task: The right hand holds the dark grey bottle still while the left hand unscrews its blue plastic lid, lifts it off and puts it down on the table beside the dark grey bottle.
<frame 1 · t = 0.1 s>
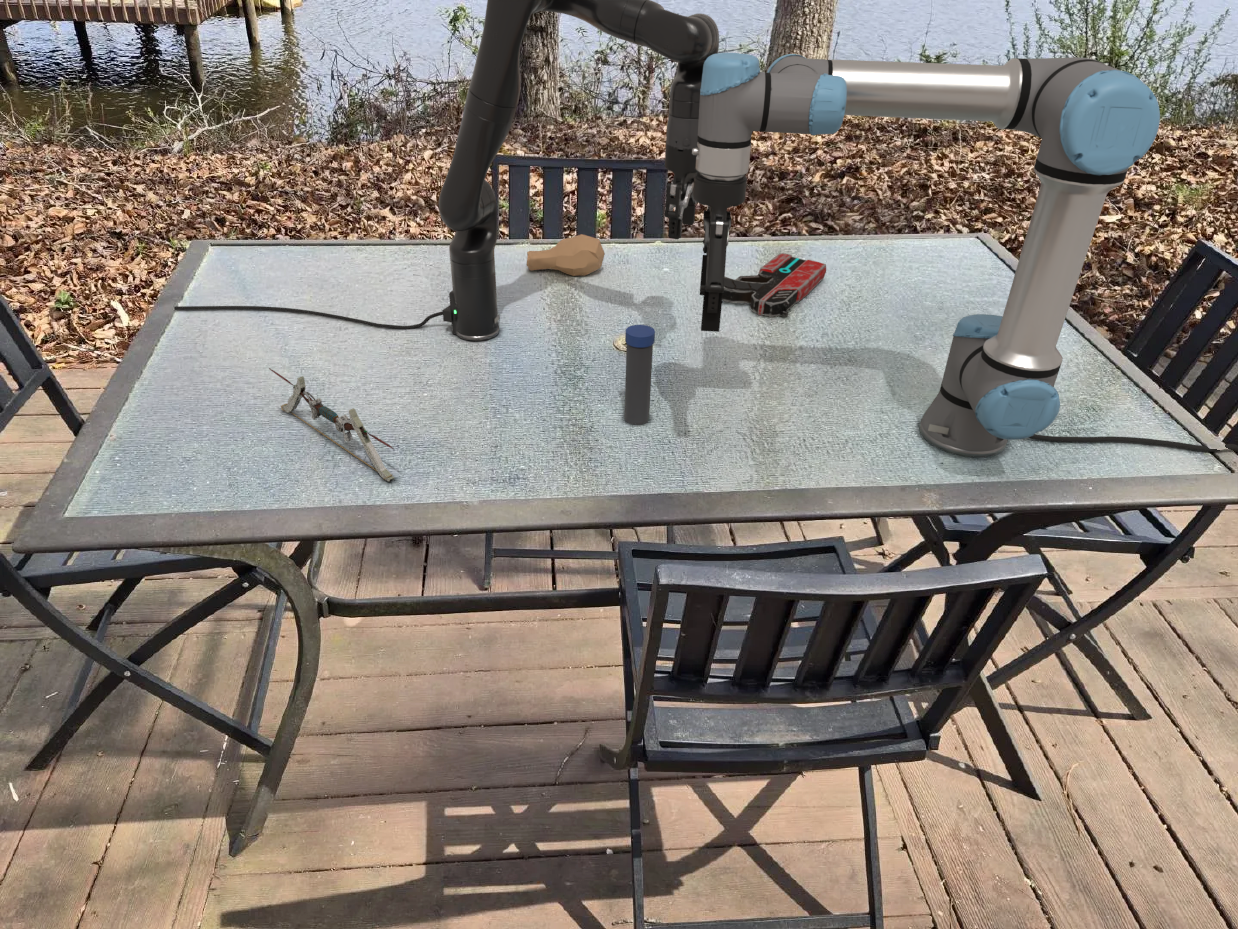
left hand: (681, 231, 164), 29 cm above the table, tool pointing down, fingers open, 8 cm apart
right hand: (708, 311, 137), 28 cm above the table, tool pointing down, fingers open, 13 cm apart
dark grey bottle: (636, 418, 164), on the table
lid: (640, 332, 154), point 18 cm above the table, screwed on, not yet turned
bow: (334, 443, 154), on the table
squash: (565, 271, 224), on the table
gun: (770, 291, 216), on the table
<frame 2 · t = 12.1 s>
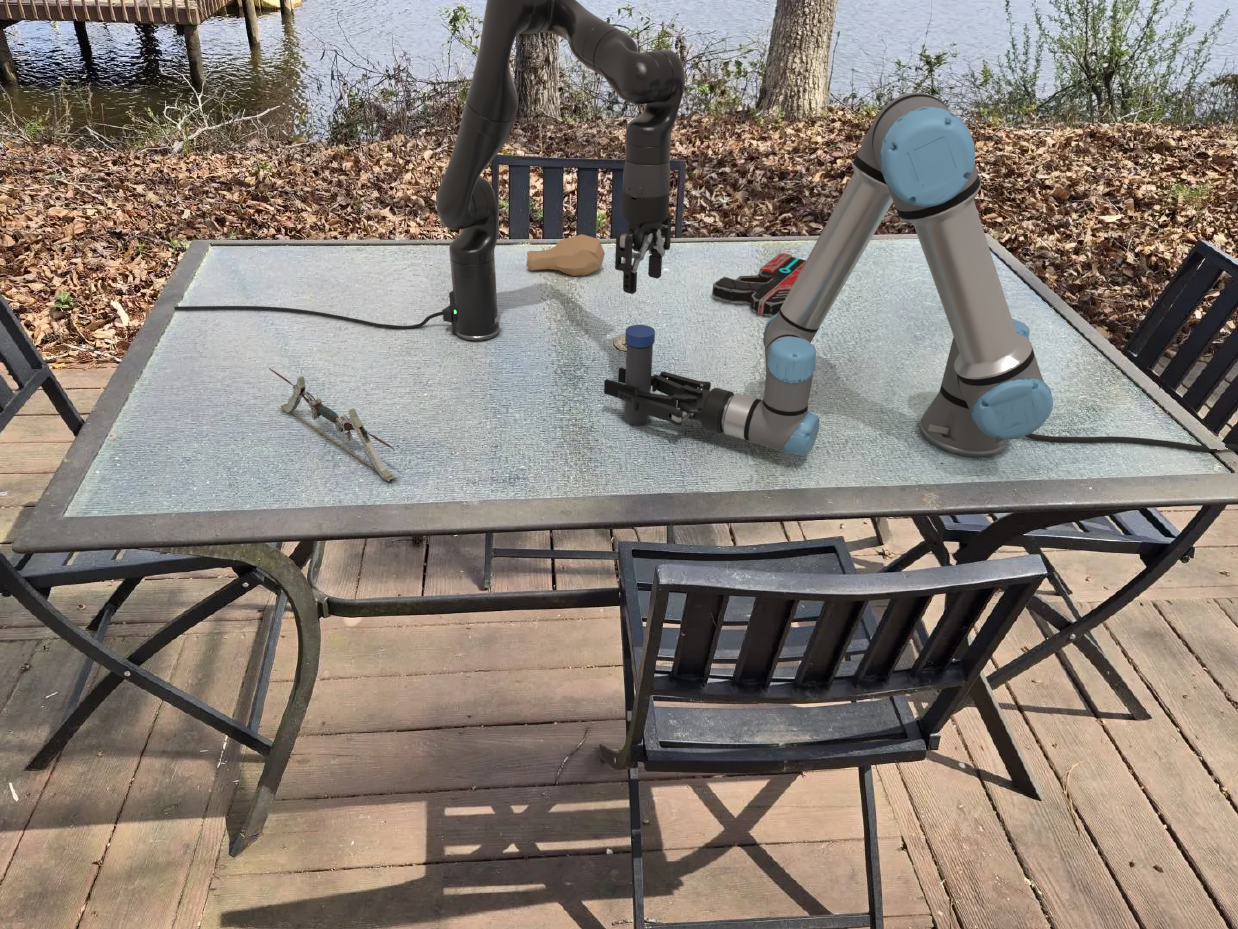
left hand: (642, 284, 149), 26 cm above the table, tool pointing down, fingers open, 7 cm apart
right hand: (612, 380, 162), 7 cm above the table, tool horizontal, fingers closed on dark grey bottle, 5 cm apart
dark grey bottle: (636, 418, 164), on the table, touching right hand
everything else where it was.
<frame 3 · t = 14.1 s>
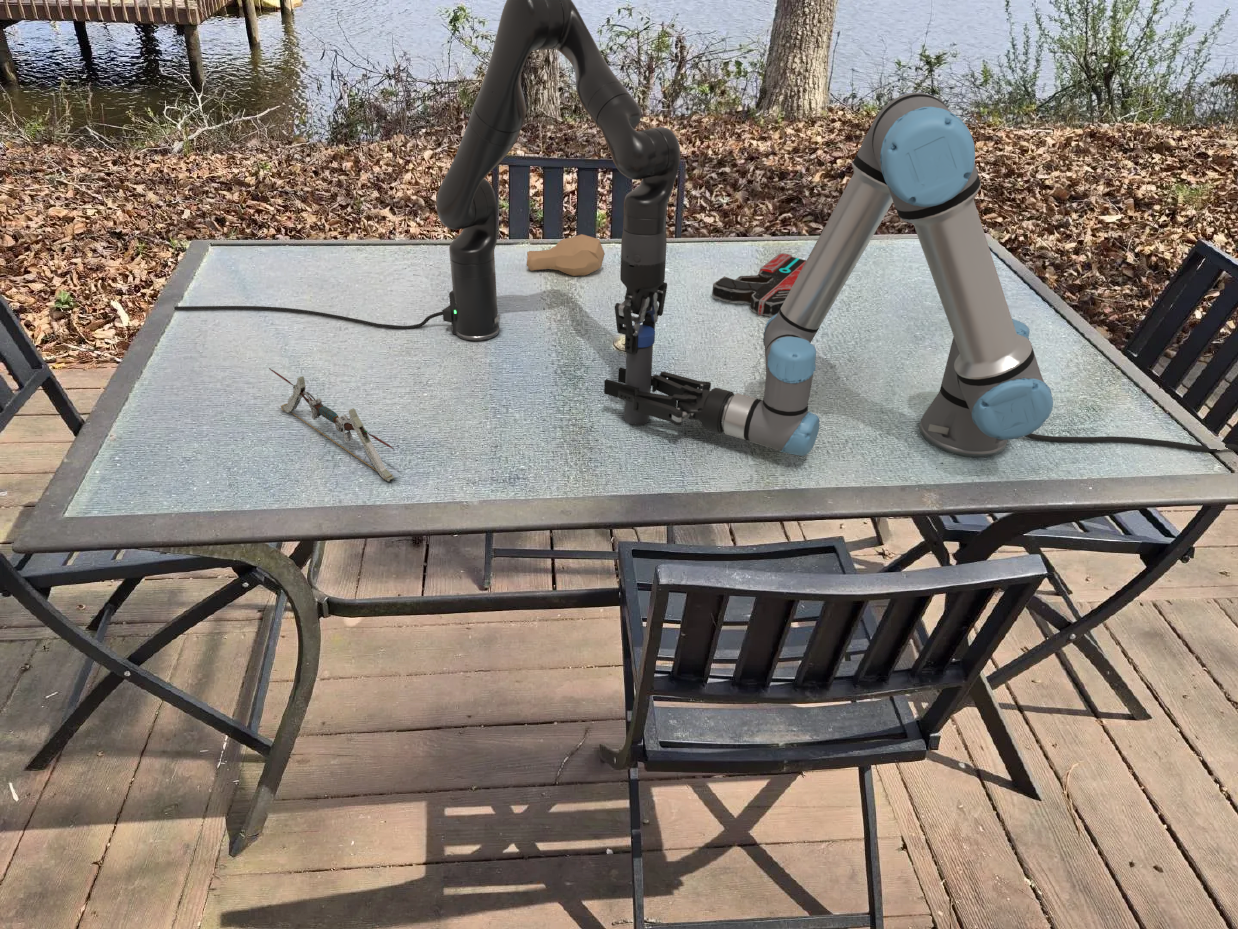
left hand: (639, 346, 155), 15 cm above the table, tool pointing down, fingers closed on lid, 5 cm apart
right hand: (612, 380, 162), 7 cm above the table, tool horizontal, fingers closed on dark grey bottle, 5 cm apart
dark grey bottle: (636, 418, 164), on the table, touching right hand
lid: (640, 332, 154), point 18 cm above the table, screwed on, not yet turned, touching left hand
everything else where it was.
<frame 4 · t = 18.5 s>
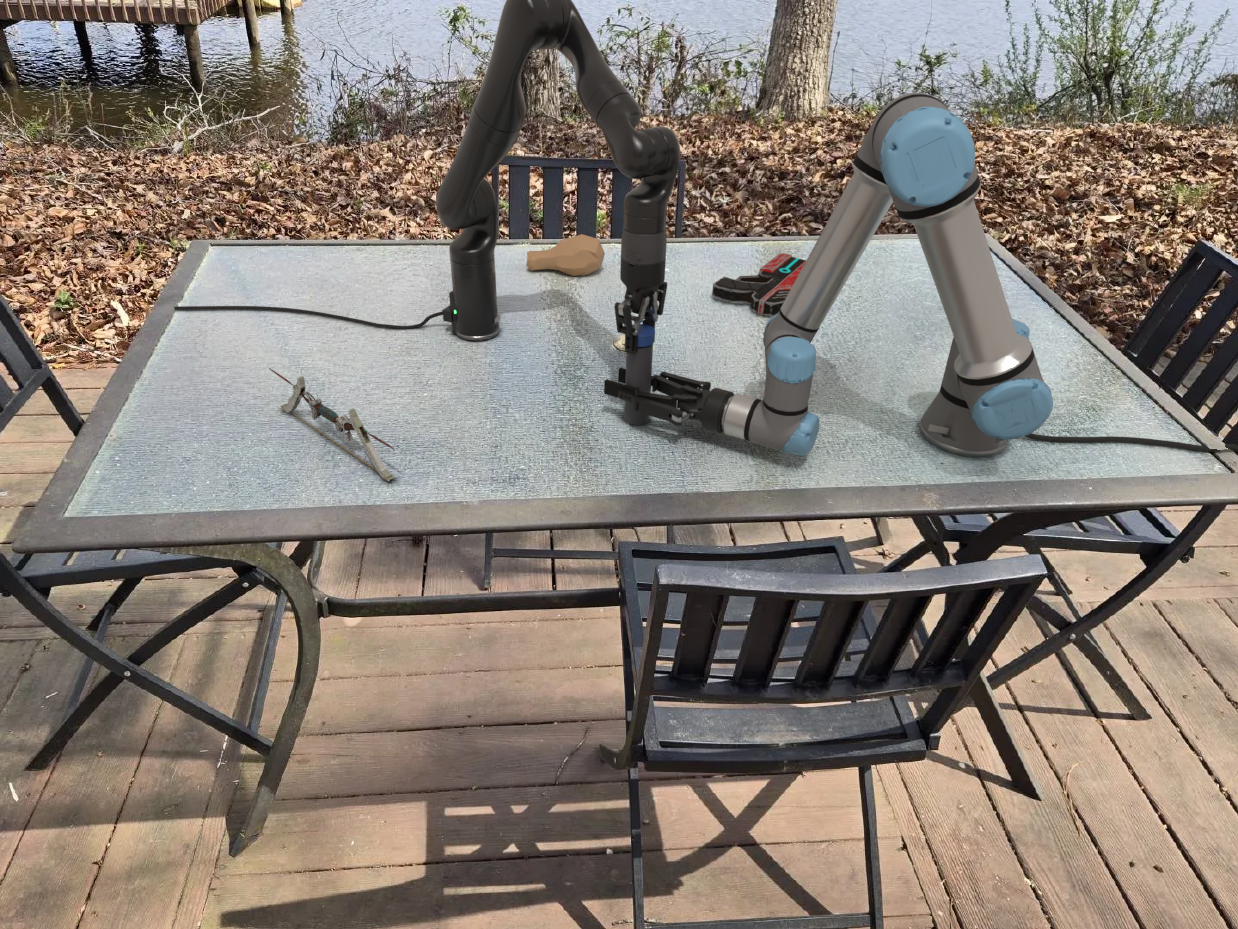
left hand: (639, 346, 155), 15 cm above the table, tool pointing down, fingers closed on lid, 5 cm apart
right hand: (612, 380, 162), 7 cm above the table, tool horizontal, fingers closed on dark grey bottle, 5 cm apart
dark grey bottle: (636, 418, 164), on the table, touching right hand
lid: (640, 331, 154), point 18 cm above the table, turned 110° so far, risen 0.1 cm, still on its thread, touching left hand
everything else where it was.
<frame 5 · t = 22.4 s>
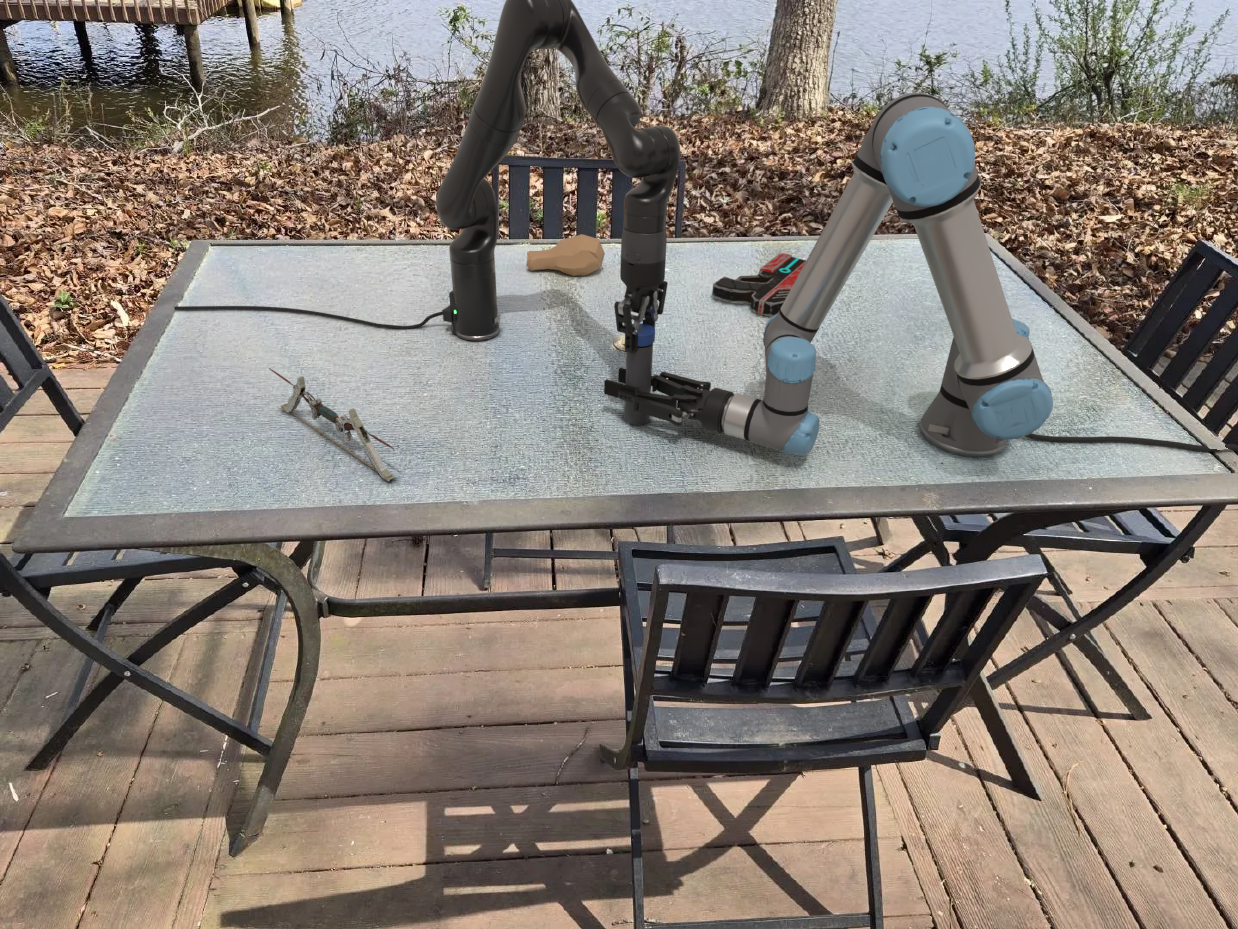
left hand: (639, 345, 155), 15 cm above the table, tool pointing down, fingers closed on lid, 5 cm apart
right hand: (612, 380, 162), 7 cm above the table, tool horizontal, fingers closed on dark grey bottle, 5 cm apart
dark grey bottle: (636, 418, 164), on the table, touching right hand
lid: (640, 331, 154), point 18 cm above the table, turned 220° so far, risen 0.3 cm, still on its thread, touching left hand
everything else where it was.
when the left hand's fingers open (0 cm above the table, at t = 38.2 s): lid drops 1 cm, point 2 cm above the table.
when the right hand's fingers open (7 cm above the table, at t = 39.1 s): dark grey bottle stays where it is, on the table.
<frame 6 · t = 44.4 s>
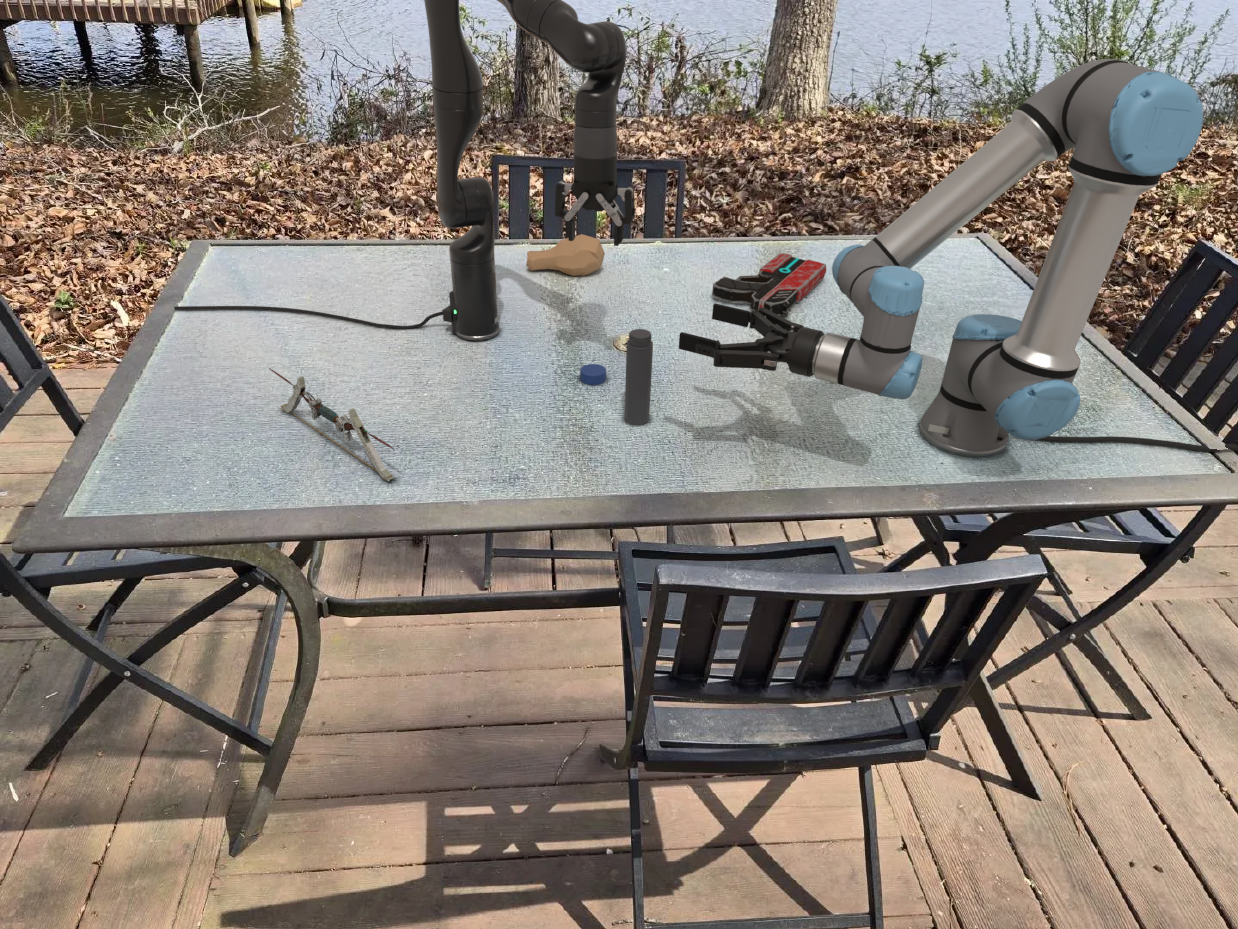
left hand: (594, 242, 160), 28 cm above the table, tool pointing down, fingers open, 8 cm apart
right hand: (697, 325, 147), 22 cm above the table, tool horizontal, fingers open, 13 cm apart
dark grey bottle: (636, 418, 164), on the table
lid: (593, 371, 175), point 2 cm above the table, off its thread
everything else where it was.
at the end: lid came off its thread; lid point 1.7 cm above the table; the left hand is holding nothing; the right hand is holding nothing; dark grey bottle tilted 0°; dark grey bottle moved 0.1 cm from its start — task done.
